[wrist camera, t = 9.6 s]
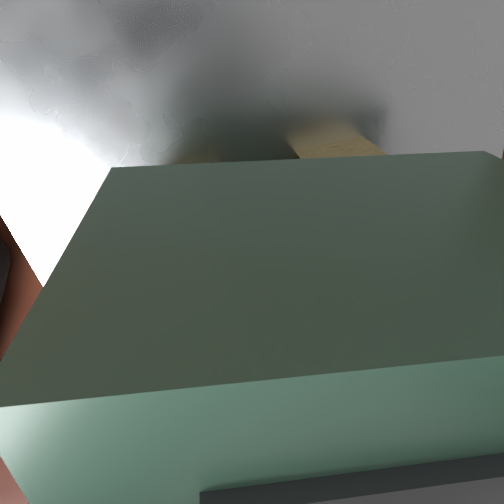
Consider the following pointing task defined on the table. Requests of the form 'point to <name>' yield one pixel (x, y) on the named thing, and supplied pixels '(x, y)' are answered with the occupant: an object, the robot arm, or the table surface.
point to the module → (269, 338)
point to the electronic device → (4, 267)
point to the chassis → (229, 91)
